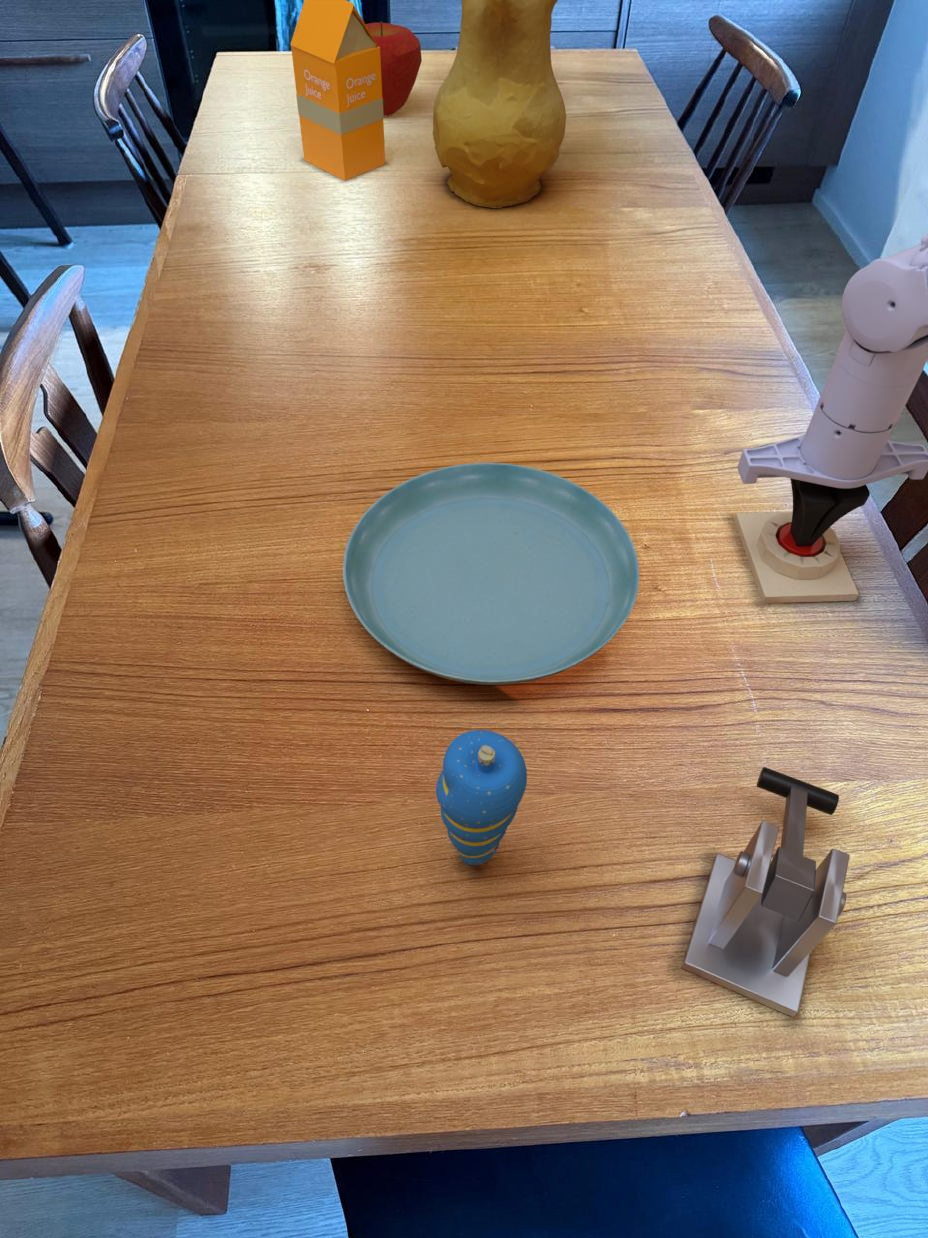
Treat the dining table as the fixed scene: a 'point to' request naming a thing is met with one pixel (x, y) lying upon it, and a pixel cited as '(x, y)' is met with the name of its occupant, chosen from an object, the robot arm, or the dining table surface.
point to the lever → (793, 844)
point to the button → (790, 546)
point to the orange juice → (338, 89)
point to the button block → (792, 563)
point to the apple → (396, 63)
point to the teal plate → (491, 573)
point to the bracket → (761, 926)
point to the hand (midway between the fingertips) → (800, 538)
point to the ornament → (480, 792)
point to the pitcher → (500, 103)
